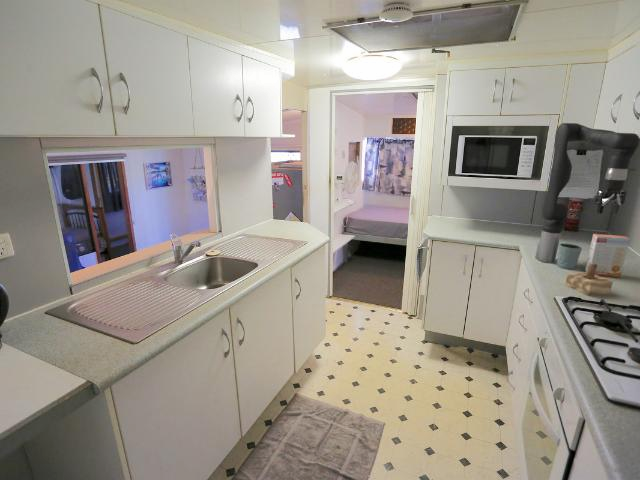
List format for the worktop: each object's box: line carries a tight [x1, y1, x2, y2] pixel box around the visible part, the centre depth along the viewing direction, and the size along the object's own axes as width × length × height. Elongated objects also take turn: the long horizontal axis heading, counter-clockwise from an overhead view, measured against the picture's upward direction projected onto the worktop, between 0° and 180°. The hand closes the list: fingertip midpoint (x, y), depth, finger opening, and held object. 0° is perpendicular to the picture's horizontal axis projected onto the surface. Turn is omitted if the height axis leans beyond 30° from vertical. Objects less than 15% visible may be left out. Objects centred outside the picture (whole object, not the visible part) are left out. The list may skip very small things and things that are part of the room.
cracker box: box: [584, 233, 631, 279], centre depth 184 cm, size 14×6×21 cm, turn 73°
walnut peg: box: [585, 263, 597, 280], centre depth 166 cm, size 3×3×11 cm
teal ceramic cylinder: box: [556, 243, 583, 270], centre depth 196 cm, size 10×10×12 cm
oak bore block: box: [564, 271, 614, 297], centre depth 167 cm, size 12×12×6 cm
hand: (606, 213), depth 169 cm, fingers open, 8 cm apart
